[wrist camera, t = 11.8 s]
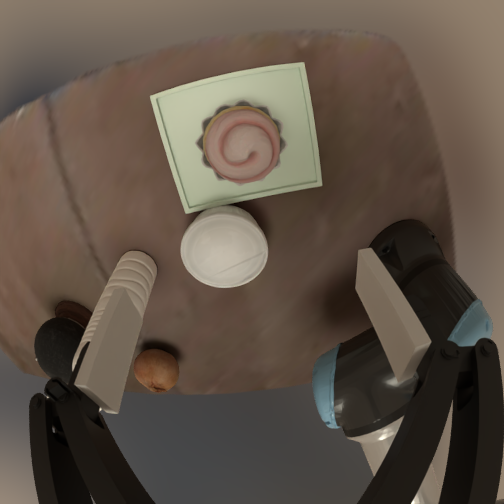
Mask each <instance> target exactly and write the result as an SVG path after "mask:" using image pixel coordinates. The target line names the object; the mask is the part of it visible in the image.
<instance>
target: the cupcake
mask: <svg viewBox="0 0 504 504" xmlns="http://www.w3.org/2000/svg"><path fill="white" fill-rule="evenodd" d="M201 127H202V132H203V133H202V134H201V135H200V137H199V138H198V139H197V140H196V142H195V144H196V146H197V147H198V148H199V149H200V151H201V152H202V153H203V154H202V158H201V161H202V164H203V165H204V166H205V167H206V168H209V169H213V171H214V174H215V177H216V179H217V180H218V181H223V180H228V181H230V182H234V183H235V184H236V185H238V186H242V185H244V184H245V183H251V182H255V181H263V180H264V179H265V177H266V176H267V175H268V174H269V173H270V172H271V171H272V170H273V169H277V168H279V167H280V164H281V162H280V154H281V153H282V152H283V151H284V150H285V149H286V148H287V146H288V144H287V142H286V141H285V139H284V138H283V137H282V135H281V134H282V131H283V123H282V122H281V121H280V120H278V119H275V118H273V117H272V115H271V111H270V109H269V107H268V106H265V105H259V106H254V105H252V104H251V103H250V102H249V101H247V100H244V99H243V100H240V101H238V102H236V103H235V104H234V105H228V104H223V105H220V106H219V107H218V108H216V110H215V113H214V115H213V116H210V117H207V118H205V119H204V120H202V123H201Z"/></svg>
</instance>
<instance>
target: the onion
mask: <svg viewBox="0 0 504 504" xmlns="http://www.w3.org/2000/svg"><path fill="white" fill-rule="evenodd" d="M134 374H135V376H136V378H137V379H138V381H139V382H140V383H141V384H143V385H144V386H146V387H147V388H148V389H149V390H151V391H154V392H160V393H161V392H162V391H163V392H167V391H166V390H168V389H170V388H172V387H173V386H174V385H175V384H176V382H177V380H178V377H179V366H178V363H177V361H176V360H175V358H174V357H173V356H172V355H171V354H169V353H167V352H165V351H162V350H161V349H160V350H159V349H156V348H155V349H149V350H146V351H144V352H141V353H140V354H139V355H138V356H137V358H136V359H135V362H134Z"/></svg>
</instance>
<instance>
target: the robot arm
mask: <svg viewBox="0 0 504 504" xmlns="http://www.w3.org/2000/svg"><path fill="white" fill-rule="evenodd" d="M355 289H356V291H357V293H358V295H359V297H360V299H361V301H362V303H363V305H364V307H365V310H366V312H367V314H368V316H369V318H370V320H371V322H372V324H373V327H371V328H369V329H368V330H366V331H364V332H362V333H361V334H359V335H357V336H355V337H353V338H352V339H350V340H348V341H346V342H344V343H340V344H338V345H337V347H335V348H333V349H332V350H330V351H328V352H326V353H325V354H323V355H321V356H320V357H319V358H318V359H317V361H316V362H315V365H314V368H313V377H312V384H313V392H314V398H315V402H316V405H317V409H318V411H319V414H320V416H321V418H322V420H323V421H325V423H326V425H327V426H328V427H330V428H339V427H342V428H343V431H344V433H345V435H346V437H347V438H348V439H351V440H355V441H358V442H360V443H361V446H362V448H363V450H364V453H365V455H366V458H367V460H368V462H369V465H370V467H371V470H372V472H373V475H374V478H373V479H372V481H371V483H370V484H369V486H368V487H367V489H366V491H365V492H364V494H363V496H362V497H361V499H360V500H359V501H358V503H357V504H504V499H501V500H496V498H497V492H498V487H499V481H500V475H501V466H502V458H503V443H504V401H503V387H502V377H501V368H500V361H499V355H498V349H497V346H496V344H495V343H494V342H493V341H492V340H491V339H490V338H491V335H492V330H493V323H492V320H491V317H490V316H489V314H488V313H487V311H486V310H485V308H484V307H483V304H482V301H481V300H480V299H478V298H477V297H476V295H475V294H474V293H473V292H472V290H471V289H470V288H469V287H468V285H467V284H466V283H465V282H464V281H463V280H462V279H461V277H460V276H459V275H458V274H457V273H456V271H455V270H454V269H453V268H452V267H451V266H450V265H449V264H448V262H447V261H446V260H445V257H444V255H443V252H442V250H441V247H440V245H439V243H438V240H437V238H436V236H435V235H434V233H433V232H432V231H431V230H430V229H429V228H428V227H427V226H426V225H425V224H423V223H422V222H419V221H416V220H405V221H401V222H398V223H395V224H393V225H391V226H390V227H388V228H387V229H385V230H384V231H383V232H381V233H380V234H379V235H378V236H377V237H376V239H375V240H374V241H373V242H372V244H371V245H370V247H369V248H366V249H361V250H358V263H357V275H356V286H355ZM142 323H143V319H142V318H141V316H140V314H139V312H138V311H137V309H136V307H135V305H134V304H133V302H132V300H131V298H130V296H129V295H128V293H127V291H126V289H125V288H118V289H114V291H113V293H112V295H111V297H110V299H109V301H108V303H107V305H106V307H105V310H104V312H103V314H102V316H101V318H100V321H99V323H98V325H97V327H96V330H95V332H94V334H93V337H92V339H91V341H87V343H86V344H85V345H84V347H83V348H82V349H81V352H80V354H79V358H78V359H77V362H76V363H77V364H75V367H74V370H73V372H72V375H71V378H70V380H69V383H68V385H67V384H66V383H65V382H64V381H63V380H62V379H61V378H59V377H53V378H51V379H50V380H49V381H48V382H47V384H46V386H45V390H44V391H45V392H44V393H45V394H46V395H47V396H48V397H49V398H47V397H45V396H44V395H43V394H41V393H37V394H35V395H34V396H33V397H32V398H31V400H30V405H29V422H30V423H29V427H30V445H31V457H32V466H33V473H34V480H35V486H36V491H37V496H38V501H39V504H93V502H92V499H91V496H92V498H93V499H94V501H95V503H96V504H155V502H154V501H153V500H152V498H151V497H150V496H149V494H148V493H147V492H146V490H145V489H144V487H143V486H142V484H141V483H140V482H139V480H138V478H137V477H136V475H135V474H134V472H133V471H132V469H131V468H130V466H129V464H128V463H127V461H126V459H125V458H124V456H123V454H122V453H121V451H120V449H119V447H118V446H117V444H116V442H115V440H114V438H113V436H112V435H111V432H110V431H109V429H108V427H107V425H106V423H105V421H104V418H103V416H102V415H101V413H100V412H99V409H100V408H102V409H103V410H104V411H105V412H107V413H114V414H118V413H119V408H120V404H121V400H122V395H123V391H124V387H125V383H126V379H127V375H128V372H129V368H130V364H131V360H132V357H133V353H134V350H135V346H136V343H137V340H138V336H139V333H140V330H141V326H142ZM415 379H416V380H415ZM452 400H453V413H452V428H451V438H450V446H449V454H448V460H447V466H446V472H445V477H444V482H443V486H442V491H441V492H440V488H439V485H438V482H437V479H436V475H435V472H434V469H433V466H432V463H431V462H432V460H433V457H434V455H435V452H436V450H437V447H438V444H439V442H440V439H441V436H442V433H443V430H444V427H445V424H446V421H447V417H448V414H449V410H450V407H451V403H452ZM52 427H53V428H54V429H55V433H53V430H52ZM90 494H91V496H90Z"/></svg>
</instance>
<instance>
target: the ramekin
mask: <svg viewBox="0 0 504 504" xmlns="http://www.w3.org/2000/svg"><path fill="white" fill-rule="evenodd" d="M181 257H182V261H183V263H184V265H185V267H186V269H187V270H188V271H189V272H190V274H191V275H192V276H193V277H195V278H196V279H197V280H199V281H200V282H202V283H205V284H207V285H210V286H214V287H220V288H230V287H236V286H240V285H243V284H245V283H248V282H249V281H251V280H253V279H254V278H255V277H257V276H258V275H259V274H260V272H261V271H262V270H263V268H264V266H265V264H266V262H267V258H268V244H267V240H266V237H265V235H264V233H263V231H262V230H261V228H260V227H259V226H258V224H257V222H256V221H255V219H254V218H253V217H252V216H251V215H250V214H249V213H248V212H246V211H245V210H243V209H241V208H239V207H237V206H233V205H222V206H217V207H213V208H209V209H206V210H204V211H203V212H201V213H200V214H199V215H198V216H197V217H196V219H195V220H194V221H193V222H192V223H191V224H190V226H189V227H188V228H187V230H186V231H185V233H184V235H183V238H182V242H181Z"/></svg>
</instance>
